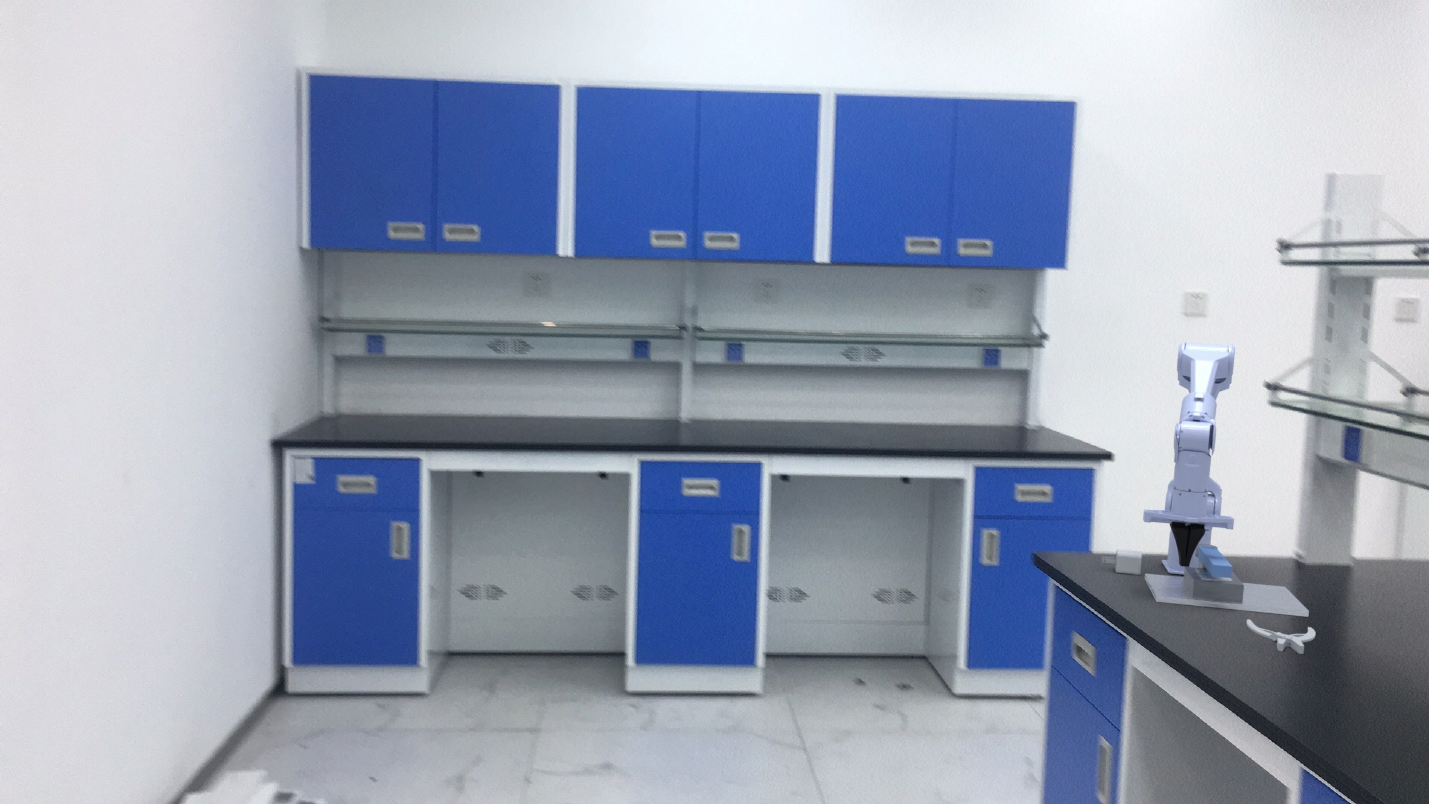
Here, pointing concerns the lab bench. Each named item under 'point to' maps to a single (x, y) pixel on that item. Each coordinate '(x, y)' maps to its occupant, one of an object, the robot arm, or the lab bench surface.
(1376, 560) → the lab bench surface
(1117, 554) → the usb wall charger
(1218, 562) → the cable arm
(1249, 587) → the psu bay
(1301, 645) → the pliers
